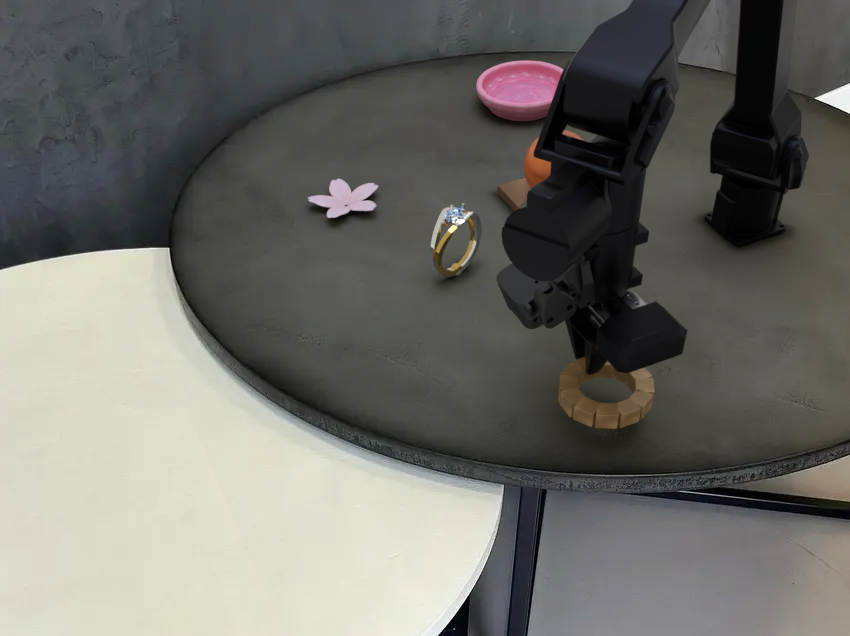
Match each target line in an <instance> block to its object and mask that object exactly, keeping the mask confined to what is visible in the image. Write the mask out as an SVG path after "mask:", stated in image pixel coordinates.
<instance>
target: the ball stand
mask: <svg viewBox="0 0 850 636" xmlns="http://www.w3.org/2000/svg"><path fill="white" fill-rule="evenodd" d="M562 134H563V135H567V136H570V137H573V138H577V139H580V140H583V141H585V140H584V139H583V138H582V137H581V136H580V135H578V134H577V133H575V132H573V131H571V130H567V129H565V130H564V131H563V133H562ZM538 139H539V136H537V138H535V139H534V140H533V141H532V143H531V144H530V145H529V147H528V149H527V151H526V153H525V156H524V161H523V173H524V177H523V178H519V179H516V180H512V181H509V182H508V181H507V182H504V183H502V184H498V185H497V195H498V196H499V198H500V199H502V200H503V202H505V204H506V205H507V206H508V207H509V208H510V210H512V212H513V211H514V210H515V209H516V208H518V207H519V206H520V205H521V204H522V203H524V202H525V201H526V200H527V194H528V191H529V190H530V189H531V188H533V187H534V186H535V185H536V184H538V183H540V182H542V181H544V180H545V179H546V178H547V177H549V176H550V173H551V162H548V161H545V160H542V159H539V158H535V157H534V150H535V147H536V144H537V141H538Z"/></svg>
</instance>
